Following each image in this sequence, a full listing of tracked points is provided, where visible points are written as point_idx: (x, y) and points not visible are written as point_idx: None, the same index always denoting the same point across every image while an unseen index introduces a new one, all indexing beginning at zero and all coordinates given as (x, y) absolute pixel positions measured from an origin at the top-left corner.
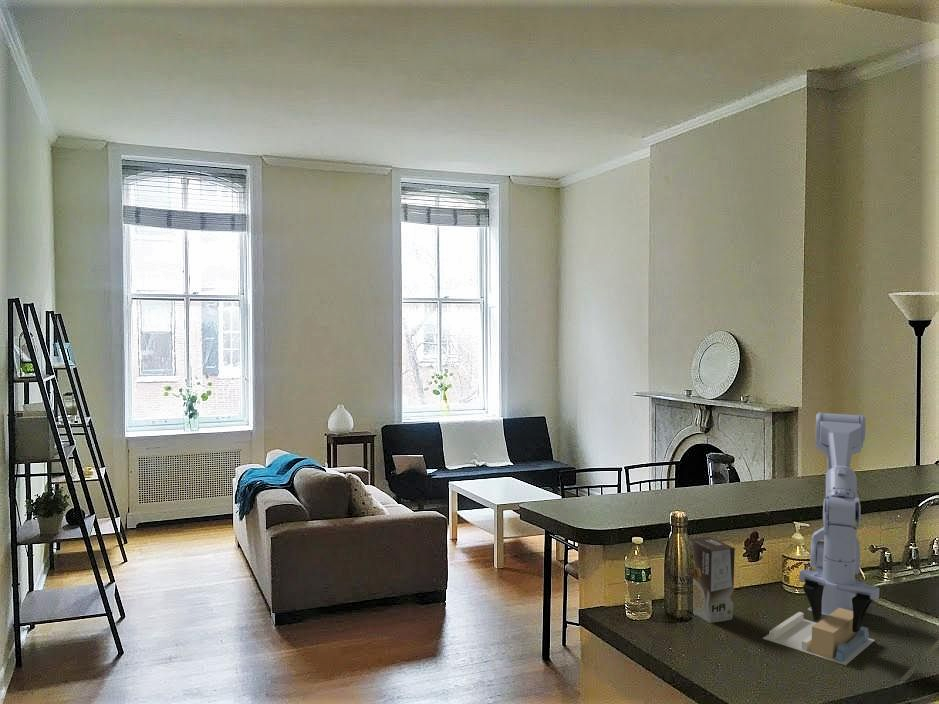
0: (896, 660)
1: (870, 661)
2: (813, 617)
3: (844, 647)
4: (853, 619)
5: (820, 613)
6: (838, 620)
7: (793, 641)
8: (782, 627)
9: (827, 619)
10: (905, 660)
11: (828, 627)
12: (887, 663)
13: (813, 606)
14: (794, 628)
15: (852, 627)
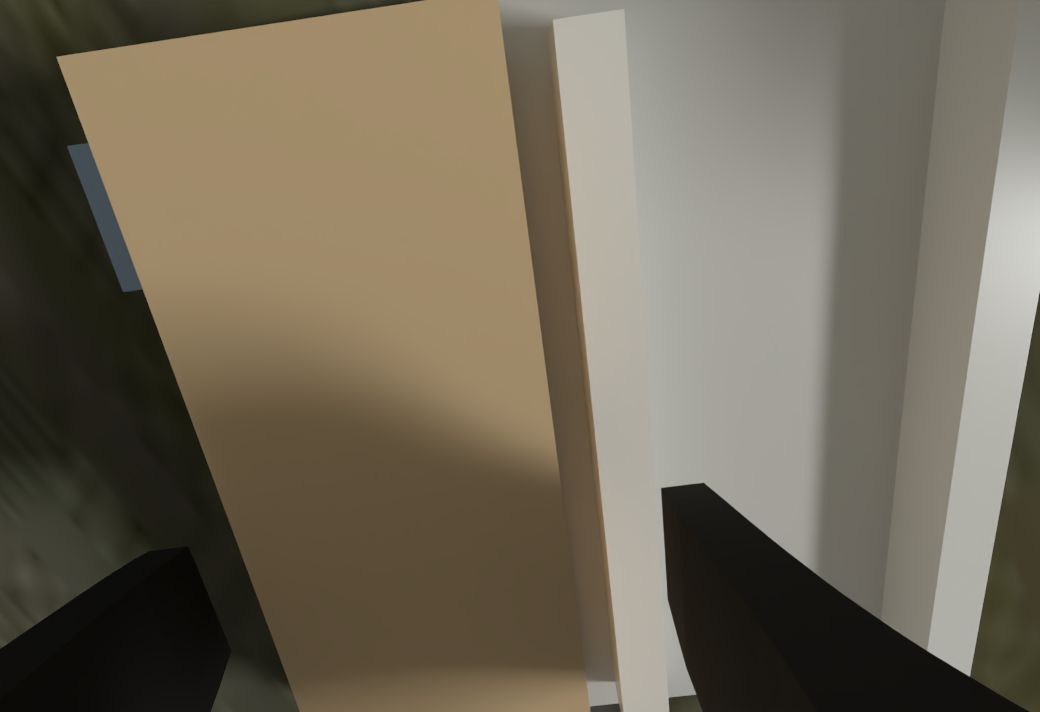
0: (54, 581)
1: (124, 409)
2: (721, 499)
3: (76, 159)
4: (18, 680)
5: (687, 643)
6: (391, 624)
7: (762, 152)
8: (983, 231)
9: (507, 538)
10: (29, 628)
11: (289, 242)
12: (39, 483)
13: (801, 615)
14: (877, 456)
15: (142, 576)
